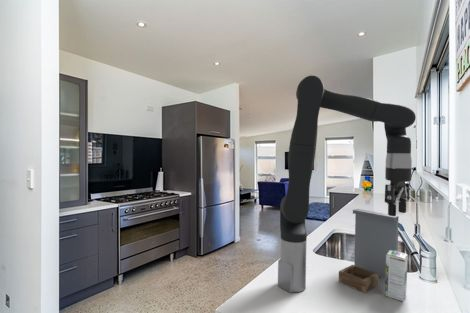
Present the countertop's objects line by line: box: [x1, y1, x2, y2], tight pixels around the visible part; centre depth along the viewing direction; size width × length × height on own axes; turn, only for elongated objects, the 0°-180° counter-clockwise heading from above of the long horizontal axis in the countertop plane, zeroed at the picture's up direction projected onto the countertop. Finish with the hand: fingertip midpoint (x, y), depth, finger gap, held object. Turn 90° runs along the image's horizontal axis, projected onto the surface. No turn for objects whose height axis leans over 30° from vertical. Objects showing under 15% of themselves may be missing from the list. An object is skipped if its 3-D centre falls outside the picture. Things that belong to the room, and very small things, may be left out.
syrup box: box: [384, 250, 409, 302], centre depth 89 cm, size 6×6×14 cm
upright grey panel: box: [352, 208, 399, 280], centre depth 104 cm, size 4×16×25 cm, turn 37°
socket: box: [338, 264, 380, 294], centre depth 97 cm, size 10×10×4 cm
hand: (397, 214), depth 89 cm, fingers open, 8 cm apart
